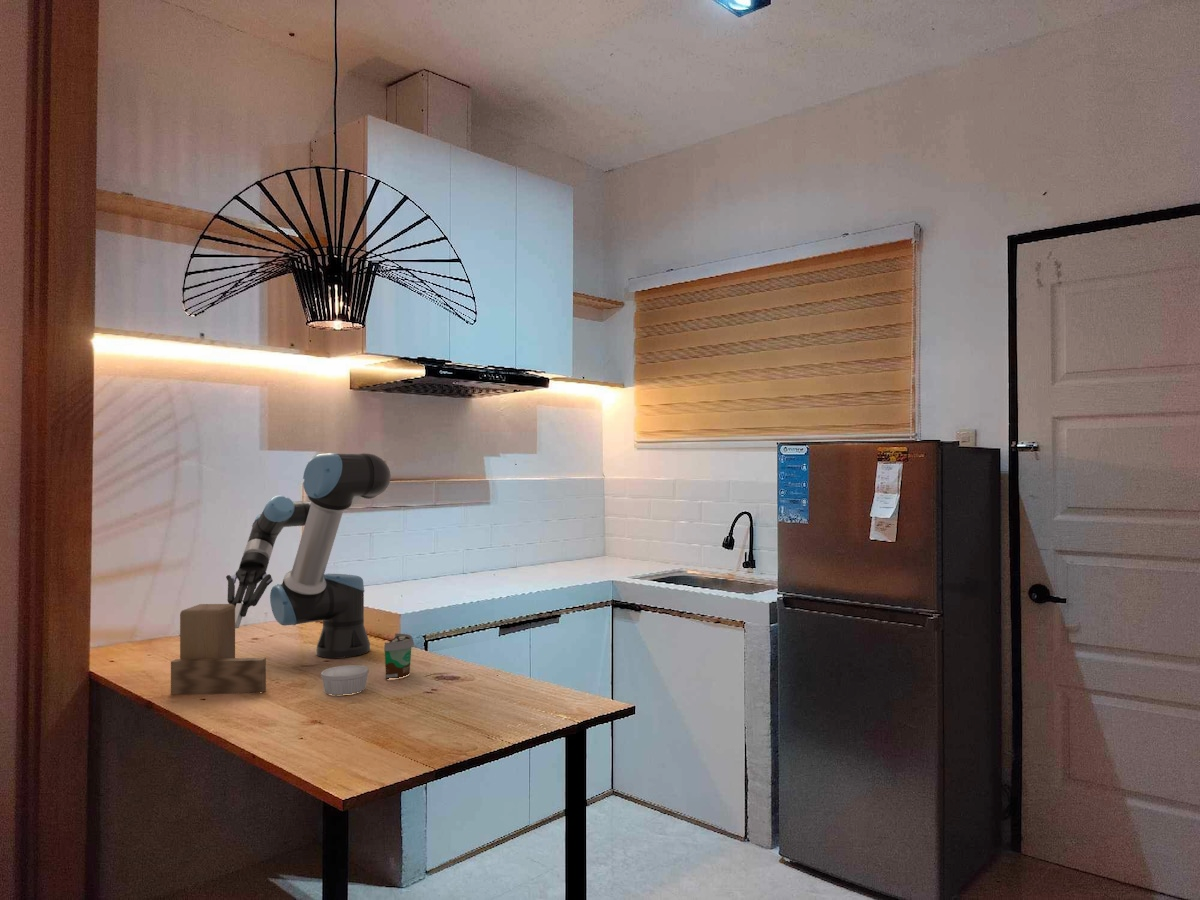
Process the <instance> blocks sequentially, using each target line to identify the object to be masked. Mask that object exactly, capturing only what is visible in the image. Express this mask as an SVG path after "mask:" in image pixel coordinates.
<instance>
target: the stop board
mask: <svg viewBox="0 0 1200 900" xmlns="http://www.w3.org/2000/svg"><path fill="white" fill-rule="evenodd" d="M265 690H267V657H244V658H243V657H241V658H240V657H237V658H236V657H235V658H226V659H180V658H177V659H174V660H172V661H170V695H171V694H178V695H218V694H219V695H220V694H221V695H222V694H223V695H224V694H225V695H226V694H227V695H228V694H229V695H230V694H231V695H232V694H237V695H238V693H239V694H261V693H260V692H263V691H264V692H266V691H265ZM264 692H263V693H264Z"/></svg>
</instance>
